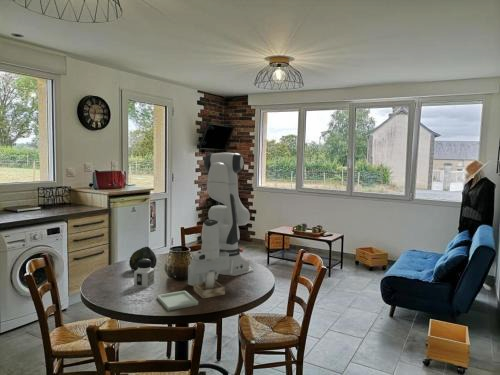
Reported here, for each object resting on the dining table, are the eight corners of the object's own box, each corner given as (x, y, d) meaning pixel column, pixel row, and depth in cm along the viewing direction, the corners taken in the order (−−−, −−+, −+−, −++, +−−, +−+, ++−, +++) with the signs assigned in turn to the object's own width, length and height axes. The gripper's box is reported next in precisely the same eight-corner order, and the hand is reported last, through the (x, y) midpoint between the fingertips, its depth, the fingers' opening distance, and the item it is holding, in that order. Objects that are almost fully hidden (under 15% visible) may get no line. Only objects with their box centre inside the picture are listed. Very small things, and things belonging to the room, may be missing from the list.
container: (147, 287, 188) (147, 262, 187) (133, 286, 189) (133, 261, 188) (154, 282, 195) (154, 258, 194) (141, 281, 197) (141, 257, 196)
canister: (212, 286, 187) (212, 267, 186) (216, 289, 183) (216, 269, 182) (203, 287, 184) (203, 268, 183) (207, 291, 180) (207, 271, 179)
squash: (124, 259, 218) (131, 243, 210) (148, 256, 228) (156, 241, 220) (130, 279, 211) (138, 264, 202) (155, 275, 220) (163, 261, 212)
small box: (206, 285, 194) (206, 265, 193) (199, 288, 189) (199, 267, 188) (194, 281, 198) (195, 262, 197) (187, 284, 194) (187, 265, 193)
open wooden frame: (214, 287, 191) (214, 280, 191) (224, 294, 181) (225, 287, 181) (193, 290, 185) (193, 283, 185) (203, 298, 175) (203, 291, 175)
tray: (185, 293, 181) (185, 290, 181) (198, 305, 167) (198, 301, 167) (157, 298, 174) (157, 295, 174) (168, 310, 160) (168, 307, 160)
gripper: (225, 249, 190) (225, 275, 191) (188, 254, 179) (188, 281, 181) (231, 252, 185) (231, 279, 186) (193, 257, 174) (193, 285, 175)
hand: (209, 280), depth 183 cm, fingers closed on canister, 4 cm apart
